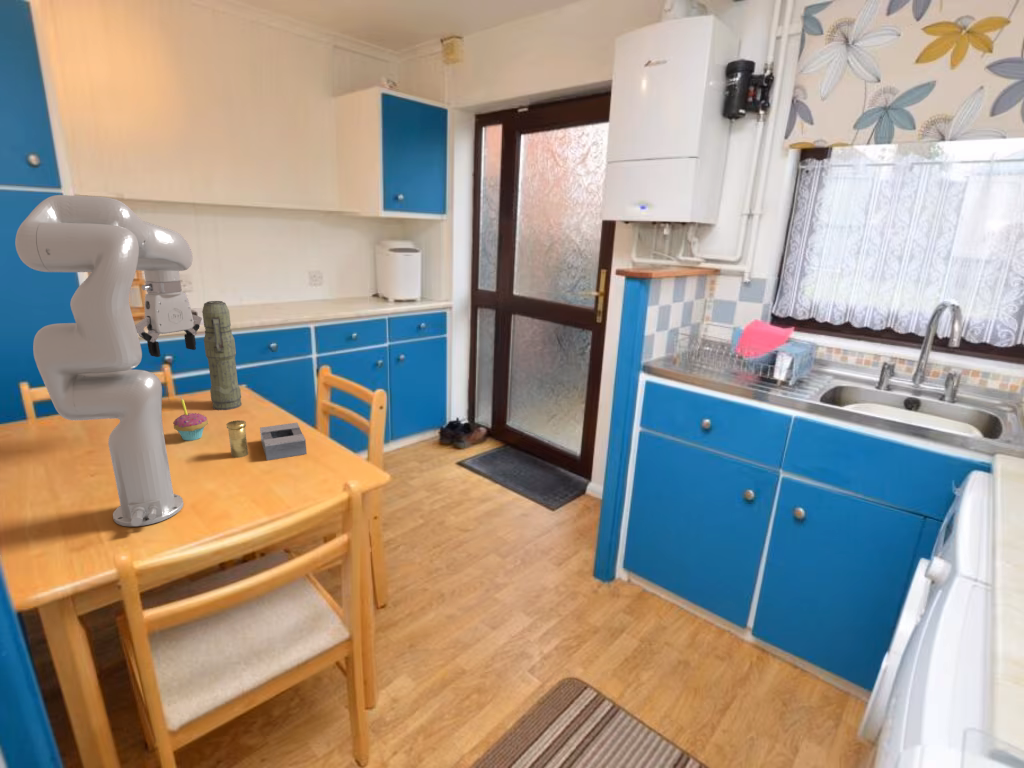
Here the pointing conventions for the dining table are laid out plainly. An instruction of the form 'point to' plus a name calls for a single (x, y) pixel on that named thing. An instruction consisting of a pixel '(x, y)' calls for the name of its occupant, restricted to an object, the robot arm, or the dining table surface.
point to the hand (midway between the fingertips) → (173, 352)
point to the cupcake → (190, 424)
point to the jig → (283, 441)
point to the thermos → (221, 356)
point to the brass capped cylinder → (237, 438)
